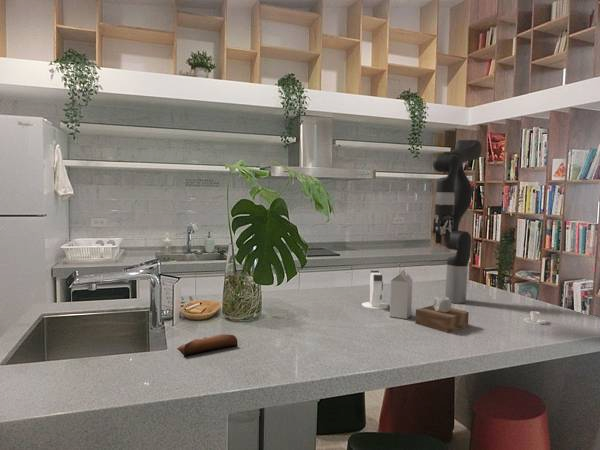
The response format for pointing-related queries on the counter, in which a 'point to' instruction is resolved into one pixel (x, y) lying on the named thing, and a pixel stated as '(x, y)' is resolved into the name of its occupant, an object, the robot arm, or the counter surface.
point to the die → (442, 304)
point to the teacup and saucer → (536, 318)
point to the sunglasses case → (208, 344)
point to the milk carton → (401, 296)
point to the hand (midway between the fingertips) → (442, 242)
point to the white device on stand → (375, 292)
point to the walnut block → (442, 319)
